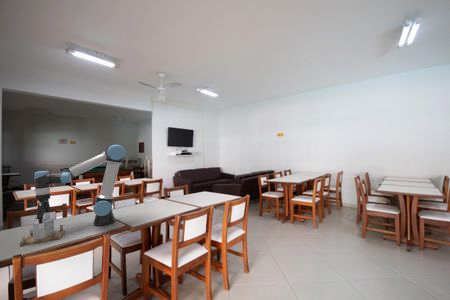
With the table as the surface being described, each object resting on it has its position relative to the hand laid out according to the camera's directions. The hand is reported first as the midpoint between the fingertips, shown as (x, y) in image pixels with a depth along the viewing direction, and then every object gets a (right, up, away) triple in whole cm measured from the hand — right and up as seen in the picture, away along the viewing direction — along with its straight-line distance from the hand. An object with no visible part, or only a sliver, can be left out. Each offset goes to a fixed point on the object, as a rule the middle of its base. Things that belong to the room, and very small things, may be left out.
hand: (44, 224), depth 140 cm
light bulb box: (0, -8, 0) cm, 8 cm away
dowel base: (0, -9, 0) cm, 9 cm away
